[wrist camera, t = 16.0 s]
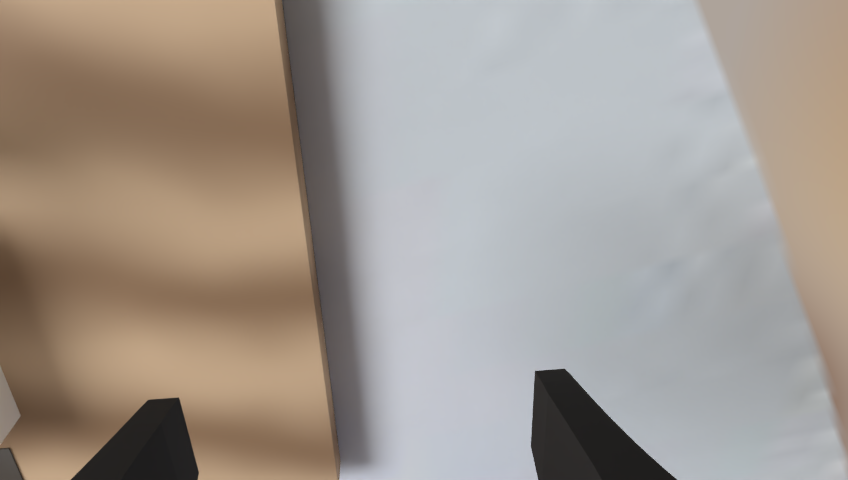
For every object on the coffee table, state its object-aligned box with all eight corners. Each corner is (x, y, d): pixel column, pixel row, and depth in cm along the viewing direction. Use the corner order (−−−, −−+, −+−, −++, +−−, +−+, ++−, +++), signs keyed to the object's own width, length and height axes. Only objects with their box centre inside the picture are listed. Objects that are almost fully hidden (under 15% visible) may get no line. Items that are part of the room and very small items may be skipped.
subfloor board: (340, 460, 28) (338, 490, 26) (-122, 497, 27) (-149, 529, 25) (275, -53, 18) (267, -50, 17) (-428, -24, 18) (-497, -19, 16)
